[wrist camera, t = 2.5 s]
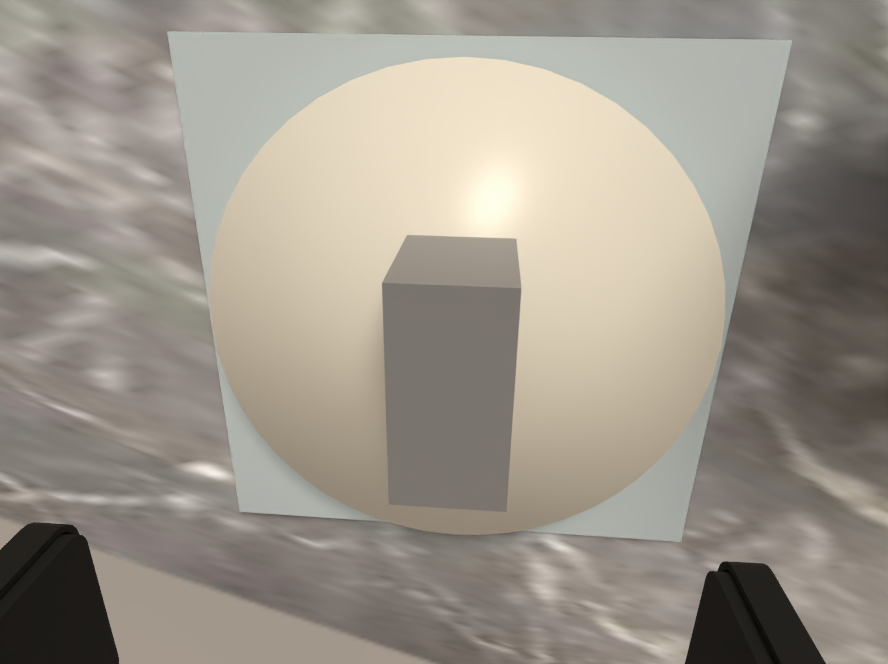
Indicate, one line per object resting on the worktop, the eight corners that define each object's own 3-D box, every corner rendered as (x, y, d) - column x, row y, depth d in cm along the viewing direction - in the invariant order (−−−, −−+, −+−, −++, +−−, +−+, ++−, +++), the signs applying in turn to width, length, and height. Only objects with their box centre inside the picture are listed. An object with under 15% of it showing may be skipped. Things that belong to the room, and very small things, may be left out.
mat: (785, 40, 15) (792, 40, 15) (677, 533, 22) (680, 541, 22) (174, 32, 16) (167, 31, 16) (243, 504, 23) (239, 511, 23)
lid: (766, 60, 15) (881, 60, 11) (669, 528, 21) (715, 655, 17) (187, 53, 16) (66, 50, 12) (252, 501, 22) (189, 613, 18)
